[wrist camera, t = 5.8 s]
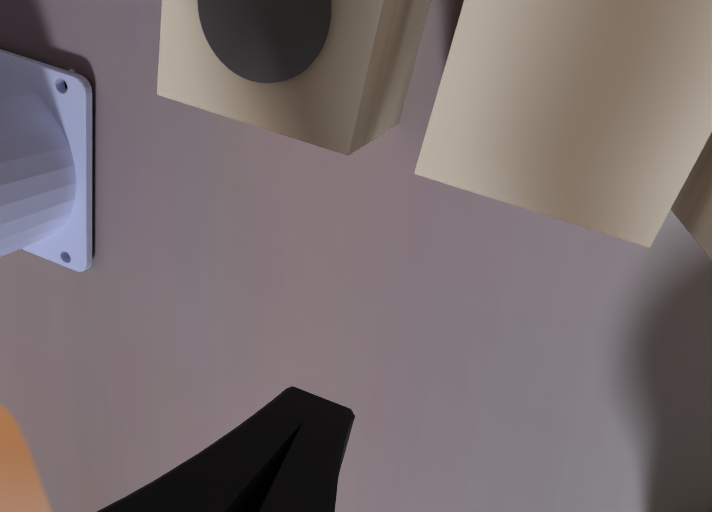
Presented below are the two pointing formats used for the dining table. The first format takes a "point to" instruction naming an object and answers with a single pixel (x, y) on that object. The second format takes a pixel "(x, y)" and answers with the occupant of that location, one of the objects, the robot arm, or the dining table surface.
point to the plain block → (575, 108)
